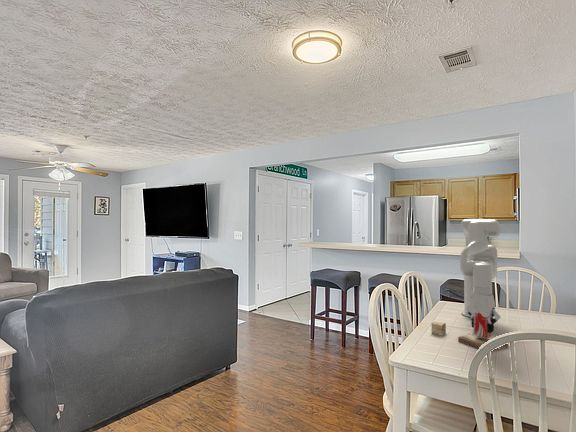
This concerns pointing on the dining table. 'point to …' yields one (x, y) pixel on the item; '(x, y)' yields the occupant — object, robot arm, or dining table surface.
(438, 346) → the dining table surface
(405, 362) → the dining table surface
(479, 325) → the soda can
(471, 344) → the walnut tray
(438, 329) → the oak block
